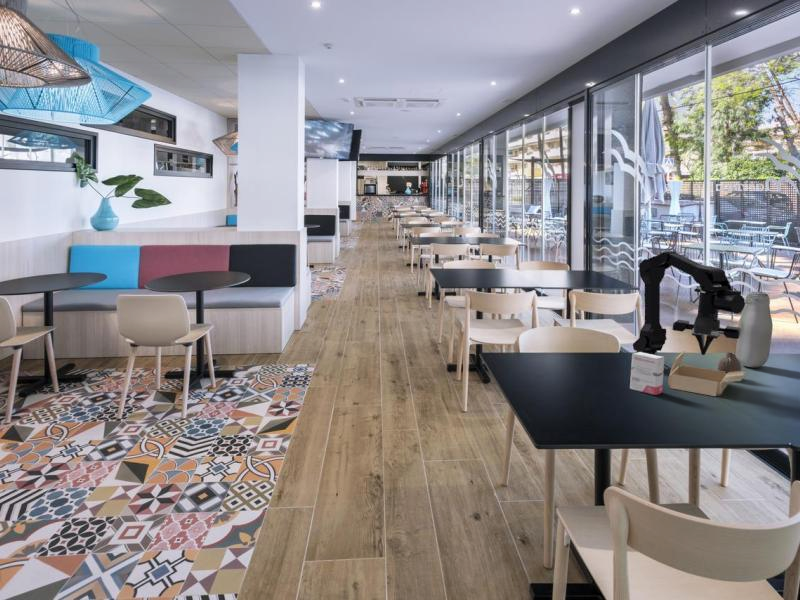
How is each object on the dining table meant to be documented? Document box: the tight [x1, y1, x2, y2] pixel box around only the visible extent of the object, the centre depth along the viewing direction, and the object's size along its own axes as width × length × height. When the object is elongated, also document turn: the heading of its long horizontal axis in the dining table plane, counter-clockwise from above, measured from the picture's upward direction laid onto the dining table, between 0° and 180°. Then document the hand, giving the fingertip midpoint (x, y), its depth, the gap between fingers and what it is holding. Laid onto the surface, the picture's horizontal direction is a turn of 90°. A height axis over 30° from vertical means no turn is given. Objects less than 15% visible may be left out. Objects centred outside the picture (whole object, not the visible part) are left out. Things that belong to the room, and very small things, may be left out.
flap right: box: [722, 370, 747, 383], centre depth 173 cm, size 1×12×5 cm
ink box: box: [629, 352, 665, 396], centre depth 174 cm, size 9×5×12 cm, turn 39°
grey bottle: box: [735, 291, 773, 369], centre depth 200 cm, size 10×10×28 cm
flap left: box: [670, 350, 686, 373], centre depth 182 cm, size 1×12×5 cm, turn 143°
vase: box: [717, 352, 742, 374], centre depth 187 cm, size 7×7×9 cm
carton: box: [667, 364, 728, 397], centre depth 179 cm, size 15×17×4 cm
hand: (703, 354), depth 178 cm, fingers closed
